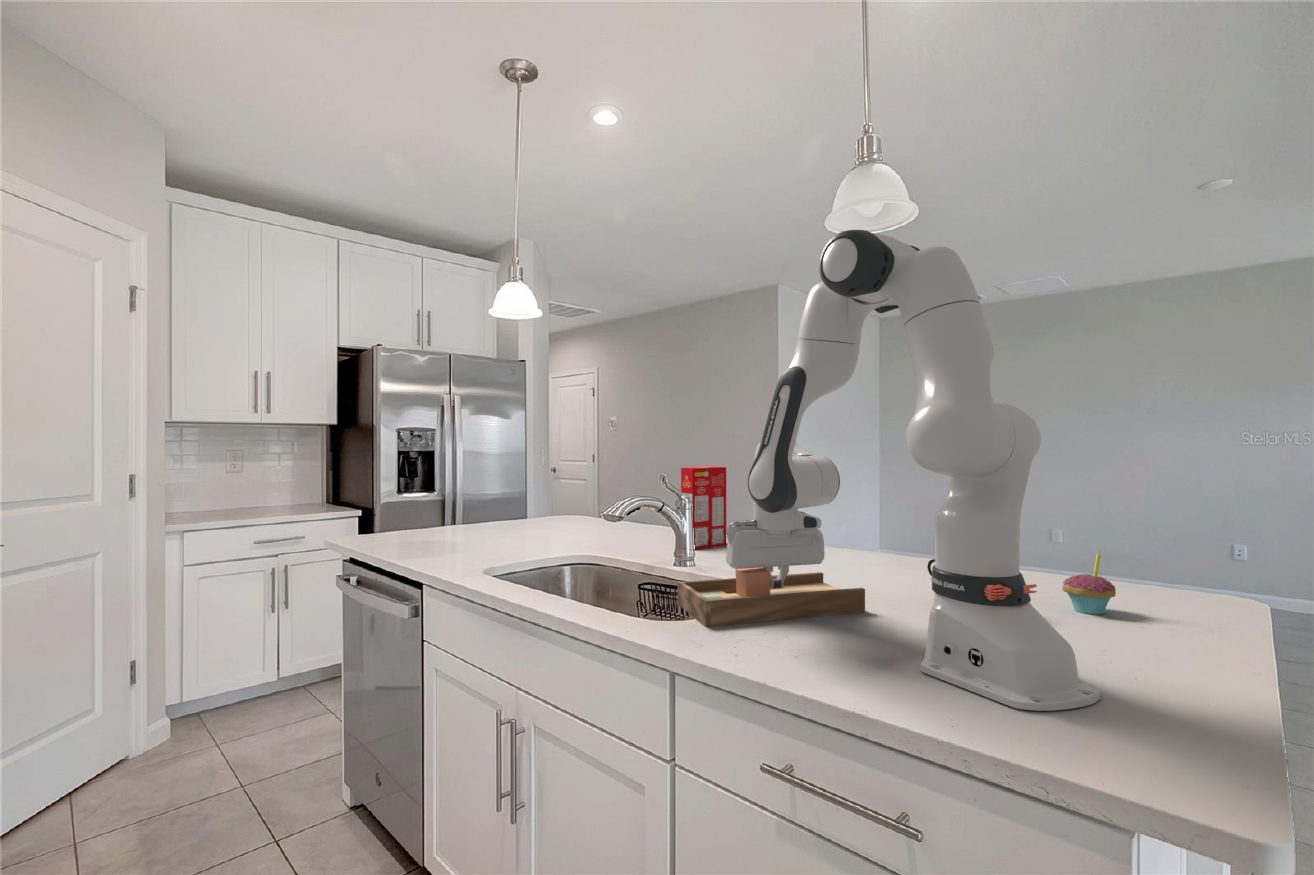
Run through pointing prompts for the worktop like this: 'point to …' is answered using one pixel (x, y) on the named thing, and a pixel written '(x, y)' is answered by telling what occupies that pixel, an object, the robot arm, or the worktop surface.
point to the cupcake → (1089, 591)
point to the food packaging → (706, 504)
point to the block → (752, 582)
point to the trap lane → (767, 600)
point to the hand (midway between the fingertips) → (775, 588)
